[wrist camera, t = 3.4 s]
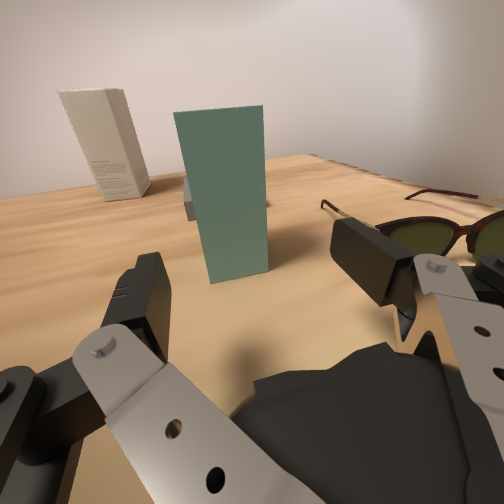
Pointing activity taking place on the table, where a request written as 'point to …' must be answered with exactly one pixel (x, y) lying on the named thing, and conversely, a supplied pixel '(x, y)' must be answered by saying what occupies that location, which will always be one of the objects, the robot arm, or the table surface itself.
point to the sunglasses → (444, 231)
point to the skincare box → (108, 141)
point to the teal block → (227, 187)
